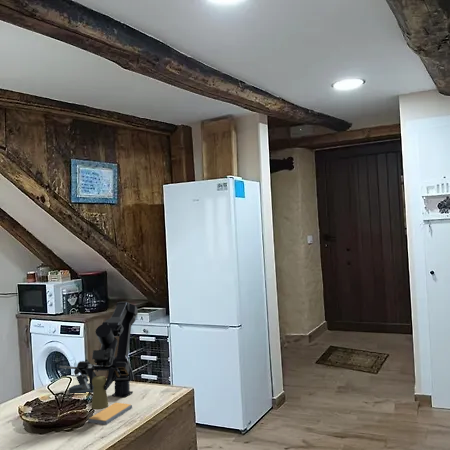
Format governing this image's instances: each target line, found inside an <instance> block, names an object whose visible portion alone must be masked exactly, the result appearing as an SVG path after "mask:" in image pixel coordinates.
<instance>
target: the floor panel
mask: <svg viewBox="0 0 450 450" xmlns="http://www.w3.org/2000/svg"><path fill="white" fill-rule="evenodd" d="M131 409H133V405H132V404H131V403H122V402H113V403H112V404H110V405H109V406H108V407H107V408H104V409H101V410H100V411H98V412H97V413H95V414H94V415H92V416H90V417H89V418H87V422H88V423H91V424H92V423H93V424H99V425H106V426H107V425H108V424H110V423H111V422H113V421H115V420H116V419H117V418H120V416H122V415H124V414H125V413H127V412H129V411H131ZM114 419H115V420H114Z"/></svg>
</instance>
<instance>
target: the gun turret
mask: <svg viewBox="0 0 450 450" xmlns="http://www.w3.org/2000/svg"><path fill="white" fill-rule="evenodd" d="M84 361H89V360H88V359H85V360H84ZM93 365H96V363H95V364H93ZM58 369H69V370H73V373H74V375H75V376H76V375H77V376H76V380H77V383H78V384H75V385H72V386H70V387H69V388H68V394H70V393H86V392H89V394H93V389H92V390H91V389H90V380H89V377H88V375H82V374H81V373H80V372H79V370H78V369H77V366H69V365H68V366H67V365H59V366H58ZM96 372H99V370H96ZM88 382H89V383H88ZM93 388H94V387H93Z"/></svg>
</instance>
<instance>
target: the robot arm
mask: <svg viewBox="0 0 450 450" xmlns="http://www.w3.org/2000/svg"><path fill="white" fill-rule="evenodd" d="M138 309H139V308H138V307H137V306H136V305H135V304H132V303H130V302H128V301H119V302H118V301H117V303H116V306H115V309H114V312H113V313H112V315H111V317H110V318H108V319H106V320H105V321H103V322H102V324H100V325H99V326H98V327H97V328H96V329H95V335H96V337H97V340H98V342H99V343H100V344H101V346H100V349H95V350H94V349H93V350H92V355H91V356H92V357H91V358H92V360H94V361H93V362H94V363H95V365H94V364H92V363H91V362H90V361H89V360H88V361H85V360H80V361H79V362H78V363H77V365H76V367H77V369H78V370H79V372H80V373H79V374H80V375H81V374H82V375H86V376H87V377H88V380H89V383H90V389H91V390H92V389H93V387H94V386H93V385H92V379H93V378H94V377H95V376H97V374H96V371H97V370H98V371H106V372H107V371H108V374H107V378H106V384H105V390H106V391H107V390H108V388H110V386H111V385H112V384H113V382H114V393H112V394H111V396H112V397H116V398H117V397H118V398H126V397H128V396H131V394H133V393H134V391H133V390H132V391H131V389H130V382H132V381H134V380H135V378H134V371H133V368H132V367H131V366H132V365H131V362H130V360H129V349H130V341H131V340H130V339H131V331H132V330H131V329H132V326H133V325H134V323H135V322H136V319H137V316H138V313H139V312H138V311H139V310H138ZM116 337H118V339H117V338H116ZM116 350H117V351H116ZM115 354H116V355H115Z"/></svg>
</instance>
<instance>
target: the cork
mask: <svg viewBox="0 0 450 450" xmlns="http://www.w3.org/2000/svg"><path fill="white" fill-rule="evenodd" d="M106 380H107V378H106V376H105V375H96V376H95V377H94V378H93V379H92V385H93V386H94V388H93V393H92V399H91V401H92V402H91V409H93V410H103V409H105V408H107V407H109V406H110V405H109V400H108V396H107V395H108V394H107V390H105V384H106Z"/></svg>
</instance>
